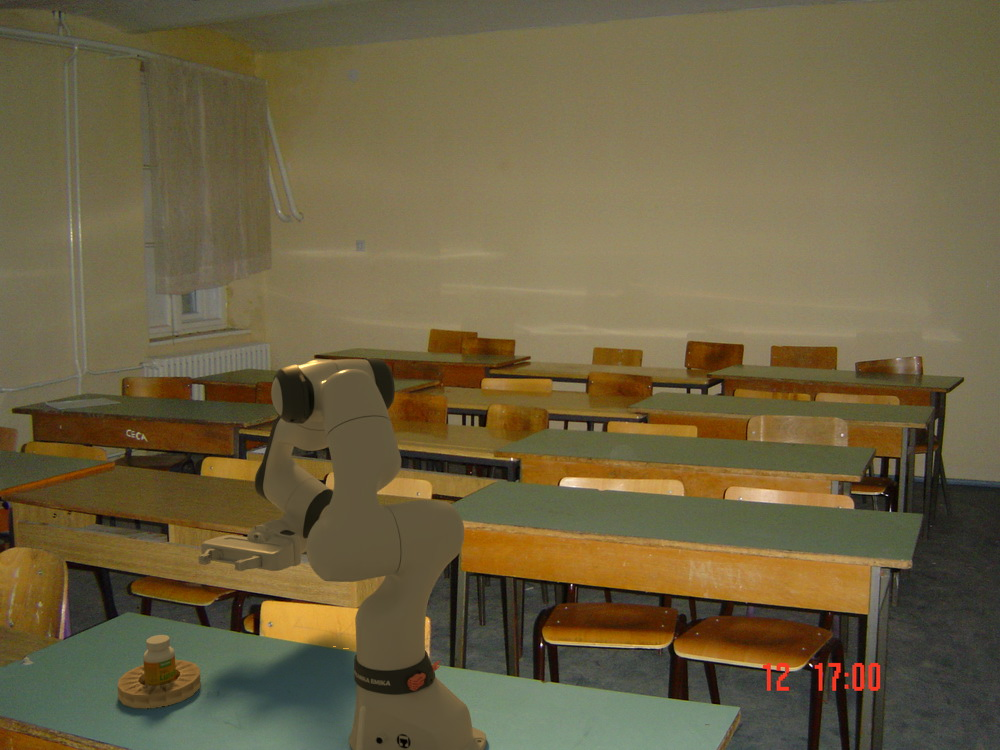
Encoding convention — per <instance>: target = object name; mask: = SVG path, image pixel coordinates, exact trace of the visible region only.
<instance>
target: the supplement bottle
mask: <svg viewBox="0 0 1000 750" xmlns="http://www.w3.org/2000/svg"><path fill="white" fill-rule="evenodd" d="M145 642H146V649H147V650H146V651H145V652H144V654H143V659H142V660H143V662H142V663H143V665H144V676H145V686H158V685H164V684H167V683H171V682H172V681H174V680H176V666H175V660H176V654H175V653H176V651H175V649H174V648H173V647H172V646H171V641H170V636H168V635H166V634H158V635H153V636H150V637H148V638H147V639H146V641H145Z"/></svg>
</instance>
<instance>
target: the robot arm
mask: <svg viewBox="0 0 1000 750" xmlns="http://www.w3.org/2000/svg"><path fill="white" fill-rule="evenodd" d="M395 391H396V383H395V379H394V374H393V372H392V370H391V368H390V366H389V365H388V364H387V362H386V361H384V360H383V359H379V358H376V357H364V358H361V359H358V358H355V359H354V358H353V359H352V358H347V359H346V358H345V359H343V358H341V359H331V358H330V359H320V358H319V359H313V360H312V359H311V360H310V361H306V362H305V363H302V364H296V363H295V364H291V365H288V366H284V367H282V368H280V369H278V370H277V371H276V373H275V375H274V376H273V379H272V385H271V391H270V395H271V401H272V402H271V403H272V404H273V407H274V409H275V411H276V413H277V416H276V418H275V419H274V421H273V424H272V427H271V429H270V432H269V437H268V440H267V444H266V447H265V450H264V455H263V457H262V458H263V459H262V462H261V463H260V464H259V466H258V468H257V471H256V473H255V477H254V489H255V491H256V494H257V495H258V496H259V497H262V498H263V499H265V500H266V501H268V502H269V503H272V505H274V506H276V507H277V508H278V509H279V510H280V511H282V512H283V516H282V517H280V518H279V519H272V520H269V521H267V522H263V523H260V524H258V525H256V526H254V527H252V528H251V529H250V530H249V532H248V534H247V536H242V535H236V534H225V535H220V536H216V537H214V538H210V539H207V540H204V541H202V543H201V545H200V546H201V547H200V549H201V554H200V555H199V556H198V559H197V560H198V564H199V565H203V566H207V565H210V564H211V563H212V562H217V563H222V564H229V565H234V570H235V571H237V572H244V571H246V570H255V569H257V570H263V571H270V572H278V571H283V570H285V569H289V568H291V567H297V566H300V565H301V564H302V554H303V553H305V552H306V558H307V561H308V563H309V566H310V568H311V569H312V571H313V572H314V573H315V574H316V576H318V577H319V578H320V579H321V580H322V581H324V582H335V583H348V582H349V583H355V582H360V581H365V580H371V579H377V578H381V577H384V578H383V580H382V582H381V584H380V585H379V587H377V588H376V590H375V591H373V592H371V594H370V595H369V596H366V598H365V599H364V600H363V601H362V602H361V603H360V605H359V607H358V608H357V611H356V613H355V618H354V619H355V620H354V621H355V622H354V623H355V624H354V625H355V647H356V648H355V650H356V652H355V653H356V654H355V656H354V659H353V662H354V663H353V670H354V671H353V675H354V682H355V683H356V693H355V694H356V698H355V709H354V717H353V723H352V727H351V732H350V736H349V739H348V743H349V747H350V748H351V750H485V749H486V746H487V735H486V733H485V732H484V731H482V730H480V729H478V728H476V727H473V723H472V719H471V718H472V717H471V713H470V710H469V708H468V706H467V705H466V703H465V702H464V701H462V700H461V698H459V697H458V696H457V695H456V694H455V693H453V691H451V690H450V688H448V687H447V685H445V684H444V683H443V682H442V681H441V680H440V679H438V677H436V673H435V672H436V671H437V670H438V669H439V668H440V667H441V666H440V662H441V661H440V660H437V661H435V662H434V663H433V664H432V662H431V659H430V656H429V654H428V652H427V650H426V619H427V618H426V616H427V608H428V603H429V600H430V597H431V594H432V591H433V589H434V586H435V585H436V583H437V581H438V579H439V577H440V576H441V575H442V573H443V571H444V570H445V569H446V568H447V566H448V565H449V564H450V563H451V562H452V561H453V560H454V559H456V557H457V556H458V555H459V554H460V552H461V550H462V548H463V545H464V542H465V533H466V532H465V525H464V521H463V519H462V517H461V515H460V513H459V511H458V510H457V508H455V507H454V506H453V504H452V503H450V502H448V501H445V500H444V501H442V500H433V499H432V500H431V499H428V500H427V499H418V500H411V501H406V502H400V503H399V502H398V503H392V504H386V505H385V504H380V502H379V499H378V492H380V491H381V490H382V489H384V488H385V487H387V486H388V485H389V484H391V482H393V481H394V480H395V479H396V477H397V476H398V474H399V472H400V470H401V466H402V457H401V453H400V449H399V445H398V442H397V439H396V435H395V431H394V427H393V424H392V420H391V417H390V414H389V413H390V412H389V409H390V407H392V404H393V403H394V400H395ZM294 448H296V449H299V450H302V451H307V452H311V451H319V450H323V449H326V448H328V450H329V455H330V460H331V466H332V473H333V490H332V489H330V487H328V486H327V485H326V484H324V483H323V482H322V481H320V480H319V479H318V478H316V477H315V476H313V475H312V474H311V473H309V472H308V471H307V470H306V469H304V468H303V467H301V466H300V465H299V464H298V462H296V460H295V459H294V458H293V457H292V454H293V451H294Z"/></svg>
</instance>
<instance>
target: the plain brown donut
mask: <svg viewBox="0 0 1000 750" xmlns="http://www.w3.org/2000/svg"><path fill="white" fill-rule="evenodd" d="M175 666H176V680H174V681H172V682H171V683H167V684H164V685H158V686H145V676H144V664H142V665H139V666H136V667H134V668H132V669H130V670H129V671H126V672H125V673H124V674H123V675H122V676H121V677H119V679H118V682H117V696H118V700H119V701H120V703H121V704H122V705H123V706H127V707H130V708H132V709H146V710H147V708H149V709H148V710H151V709H157V708H156V707H158V708H163V707H162V706H165V707H169V706H171V705H175V704H178V703H181V702H184V701H185V700H186V699H188V698H191V697H192V696H194V695H195V694H196V693H197V692H198V691H199V690H200V689H201V682H200V680H201V668H200V666H198V665H197V664H196V663H194V662H191V661H187V660H184V659H175ZM198 689H199V690H198ZM197 690H198V691H197ZM196 691H197V692H196ZM195 692H196V693H195ZM194 693H195V694H194ZM168 705H169V706H168ZM150 708H151V709H150Z"/></svg>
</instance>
